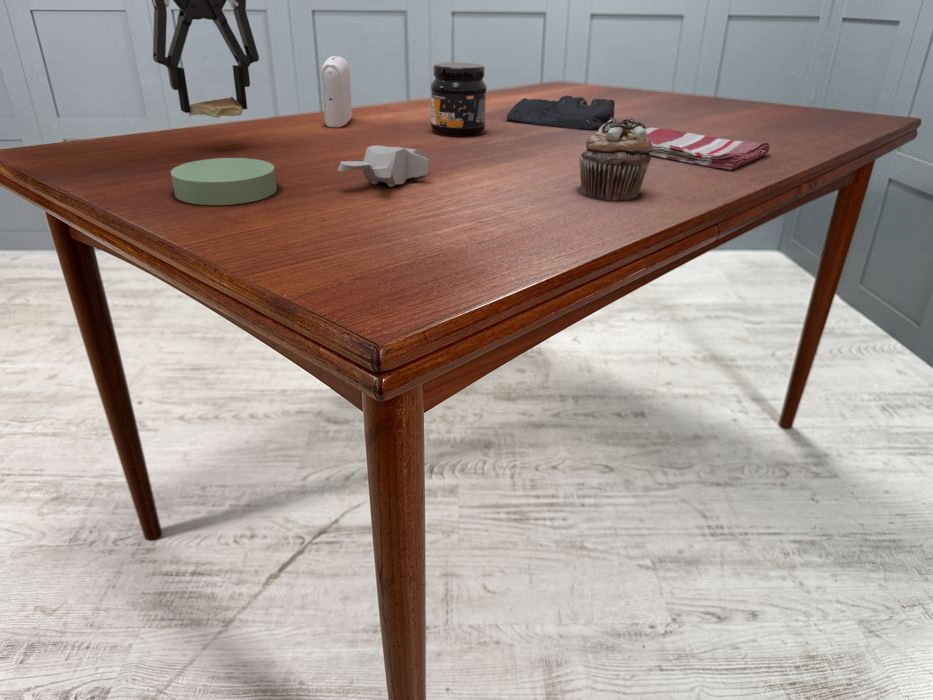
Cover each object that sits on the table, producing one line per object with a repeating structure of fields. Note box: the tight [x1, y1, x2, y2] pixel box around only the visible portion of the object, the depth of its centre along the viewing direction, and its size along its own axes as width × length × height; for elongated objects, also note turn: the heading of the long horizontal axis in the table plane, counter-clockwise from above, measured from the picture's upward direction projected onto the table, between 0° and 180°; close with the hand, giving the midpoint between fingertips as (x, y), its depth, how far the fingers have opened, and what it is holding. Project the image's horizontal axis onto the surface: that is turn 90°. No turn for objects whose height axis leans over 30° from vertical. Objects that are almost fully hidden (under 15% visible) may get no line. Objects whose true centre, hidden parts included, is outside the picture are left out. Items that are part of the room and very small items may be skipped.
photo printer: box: [320, 55, 353, 128], centre depth 131 cm, size 10×4×12 cm, turn 178°
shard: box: [189, 96, 244, 119], centre depth 110 cm, size 11×8×2 cm
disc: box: [170, 157, 278, 206], centre depth 89 cm, size 13×13×3 cm
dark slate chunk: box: [506, 95, 616, 131], centre depth 142 cm, size 15×22×5 cm
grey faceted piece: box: [337, 144, 430, 188], centre depth 94 cm, size 10×5×15 cm
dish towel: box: [645, 126, 771, 171], centre depth 118 cm, size 17×23×3 cm
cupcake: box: [578, 117, 652, 201], centre depth 91 cm, size 10×10×10 cm
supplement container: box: [430, 62, 488, 137], centre depth 126 cm, size 10×10×12 cm
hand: (214, 109), depth 110 cm, fingers closed on shard, 8 cm apart
